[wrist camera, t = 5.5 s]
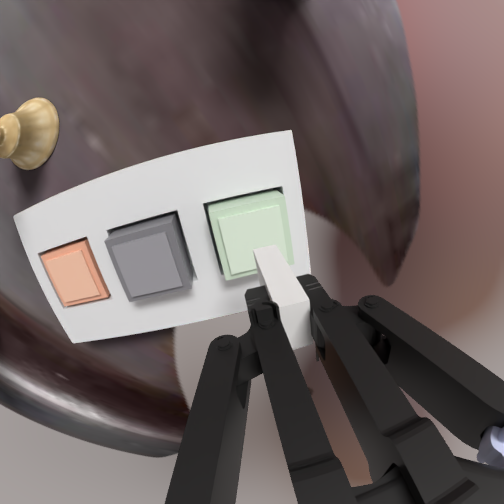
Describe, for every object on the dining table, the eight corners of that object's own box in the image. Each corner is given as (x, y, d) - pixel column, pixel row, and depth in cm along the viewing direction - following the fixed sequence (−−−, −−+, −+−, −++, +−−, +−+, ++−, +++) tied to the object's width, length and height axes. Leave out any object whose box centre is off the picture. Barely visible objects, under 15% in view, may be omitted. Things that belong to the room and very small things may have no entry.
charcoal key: (136, 285, 25) (128, 304, 22) (114, 229, 23) (102, 242, 20) (193, 272, 26) (191, 290, 23) (175, 212, 23) (170, 223, 20)
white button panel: (84, 320, 30) (72, 343, 26) (35, 204, 23) (13, 216, 19) (299, 273, 32) (312, 293, 27) (278, 131, 25) (291, 130, 21)
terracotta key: (74, 292, 26) (63, 308, 23) (53, 245, 24) (39, 257, 21) (115, 282, 27) (107, 298, 24) (95, 231, 24) (83, 242, 21)
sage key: (223, 265, 26) (226, 282, 23) (208, 204, 23) (208, 213, 20) (285, 250, 26) (295, 265, 23) (275, 189, 24) (285, 196, 21)
